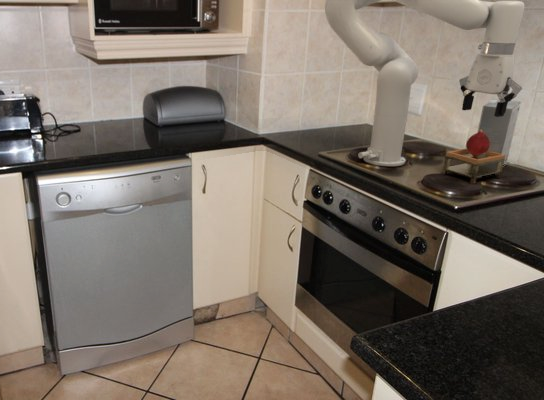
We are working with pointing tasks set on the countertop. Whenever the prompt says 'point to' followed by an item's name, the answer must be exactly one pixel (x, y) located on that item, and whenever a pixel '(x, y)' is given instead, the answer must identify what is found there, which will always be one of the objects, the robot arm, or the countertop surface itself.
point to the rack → (473, 164)
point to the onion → (478, 143)
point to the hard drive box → (499, 128)
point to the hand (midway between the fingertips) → (482, 113)
